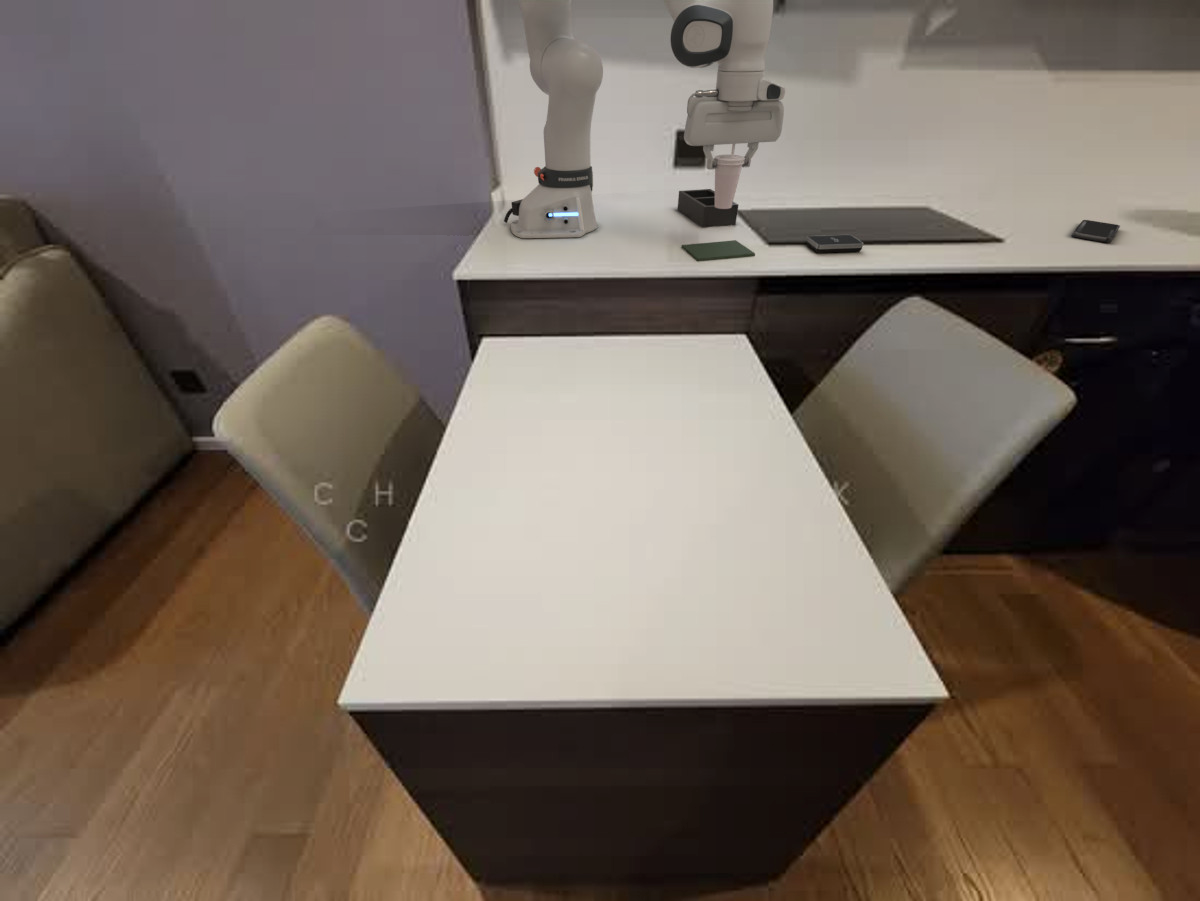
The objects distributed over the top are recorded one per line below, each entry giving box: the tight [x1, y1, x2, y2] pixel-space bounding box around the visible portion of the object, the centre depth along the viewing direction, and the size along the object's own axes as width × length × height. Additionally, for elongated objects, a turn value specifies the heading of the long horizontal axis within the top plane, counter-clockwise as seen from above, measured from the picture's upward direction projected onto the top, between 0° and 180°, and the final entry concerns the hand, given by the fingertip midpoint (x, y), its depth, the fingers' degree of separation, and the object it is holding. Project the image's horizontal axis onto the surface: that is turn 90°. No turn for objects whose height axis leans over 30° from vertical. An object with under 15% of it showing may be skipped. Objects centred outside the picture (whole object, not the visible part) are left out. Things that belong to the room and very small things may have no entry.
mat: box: [680, 239, 756, 262], centre depth 122 cm, size 14×10×1 cm
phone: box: [1071, 219, 1121, 244], centre depth 131 cm, size 8×1×15 cm
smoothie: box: [713, 144, 745, 209], centre depth 112 cm, size 6×6×14 cm
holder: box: [677, 188, 739, 228], centre depth 143 cm, size 18×10×5 cm, turn 14°
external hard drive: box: [805, 234, 864, 254], centre depth 123 cm, size 7×11×2 cm, turn 95°
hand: (728, 167), depth 111 cm, fingers closed on smoothie, 6 cm apart
